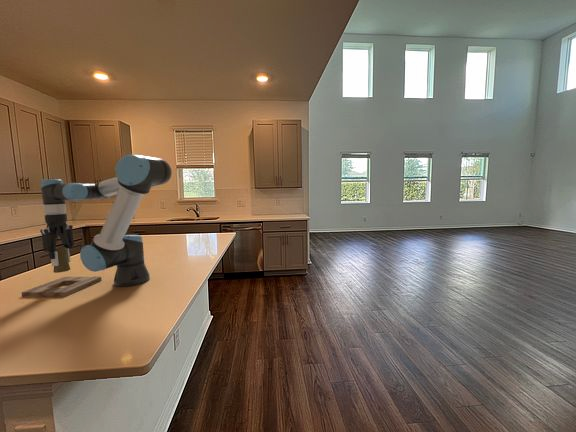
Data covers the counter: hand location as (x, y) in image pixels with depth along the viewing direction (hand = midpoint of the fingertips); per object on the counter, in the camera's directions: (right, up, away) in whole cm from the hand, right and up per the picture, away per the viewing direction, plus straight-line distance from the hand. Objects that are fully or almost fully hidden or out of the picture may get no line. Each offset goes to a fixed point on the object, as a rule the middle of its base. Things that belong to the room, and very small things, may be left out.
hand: (61, 263), depth 122 cm
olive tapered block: (0, -3, 0) cm, 3 cm away
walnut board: (+1, -12, +1) cm, 12 cm away
